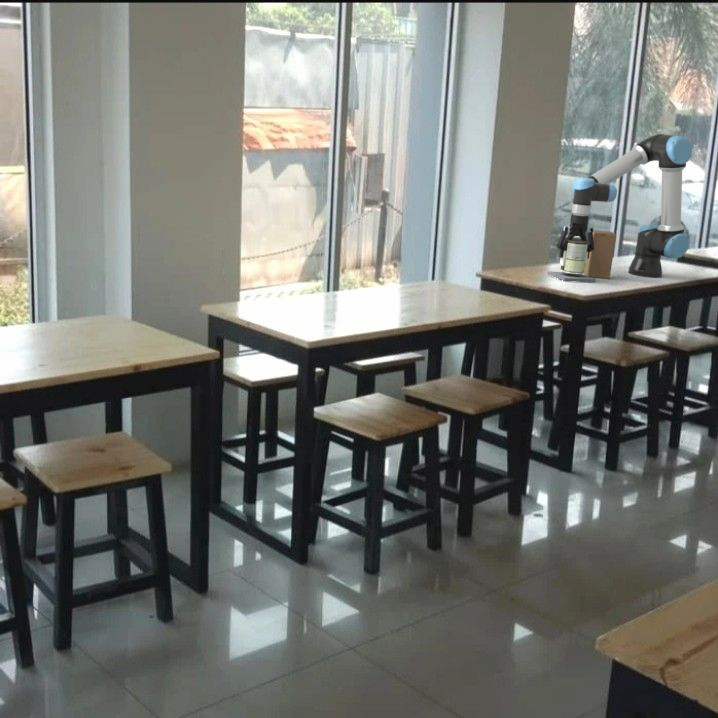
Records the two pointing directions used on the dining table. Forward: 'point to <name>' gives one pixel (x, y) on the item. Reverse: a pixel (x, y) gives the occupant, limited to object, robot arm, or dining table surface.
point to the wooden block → (601, 255)
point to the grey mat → (571, 277)
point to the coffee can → (575, 256)
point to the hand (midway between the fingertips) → (572, 265)
